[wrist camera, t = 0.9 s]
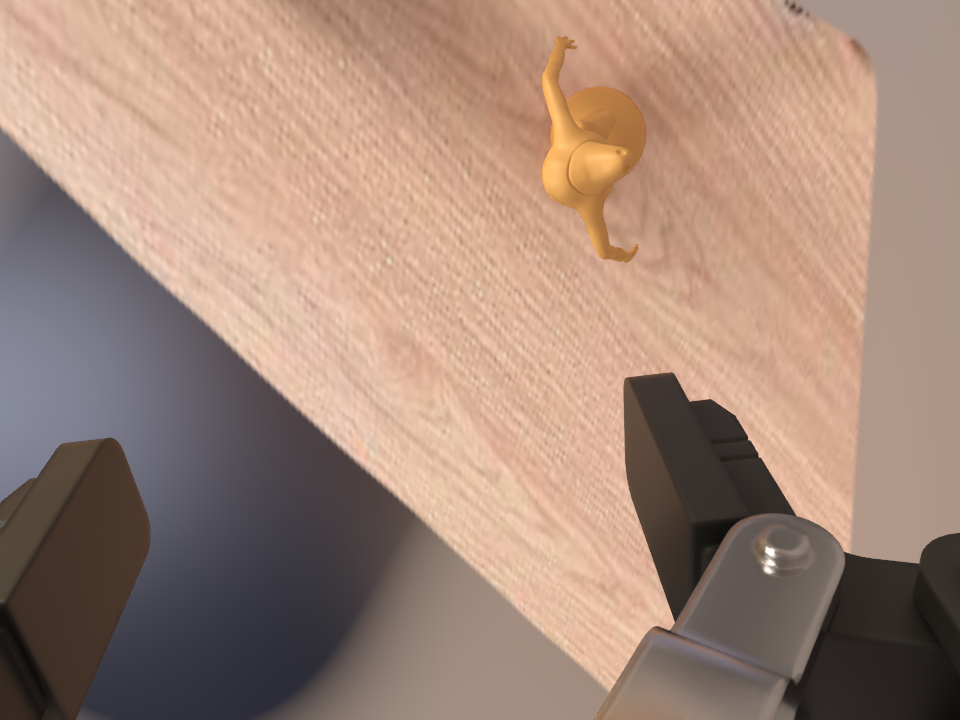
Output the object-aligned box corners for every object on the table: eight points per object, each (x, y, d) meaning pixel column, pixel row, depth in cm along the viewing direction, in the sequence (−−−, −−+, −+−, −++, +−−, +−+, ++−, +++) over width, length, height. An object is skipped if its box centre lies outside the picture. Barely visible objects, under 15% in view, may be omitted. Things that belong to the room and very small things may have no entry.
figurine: (655, 208, 38) (770, 245, 26) (532, 255, 38) (593, 313, 26) (600, 25, 35) (701, -23, 24) (469, 75, 35) (506, 52, 24)
